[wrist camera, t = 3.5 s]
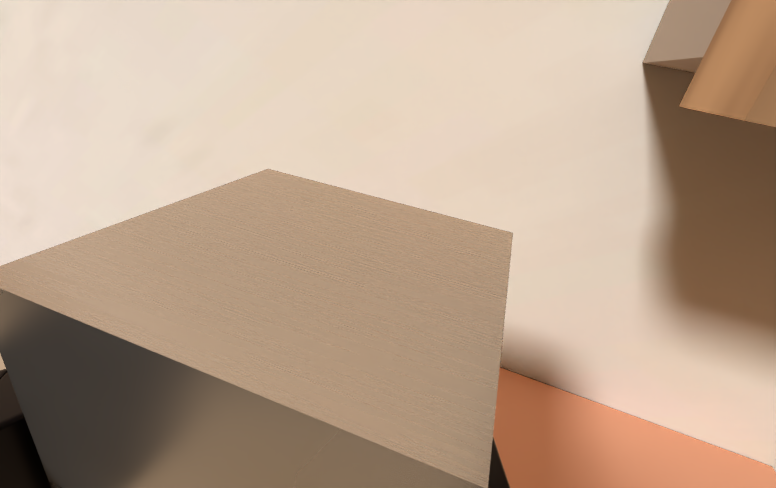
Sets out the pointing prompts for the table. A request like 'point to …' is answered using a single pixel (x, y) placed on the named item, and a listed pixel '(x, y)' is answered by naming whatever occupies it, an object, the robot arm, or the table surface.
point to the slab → (739, 66)
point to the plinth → (685, 33)
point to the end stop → (604, 446)
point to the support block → (262, 343)
